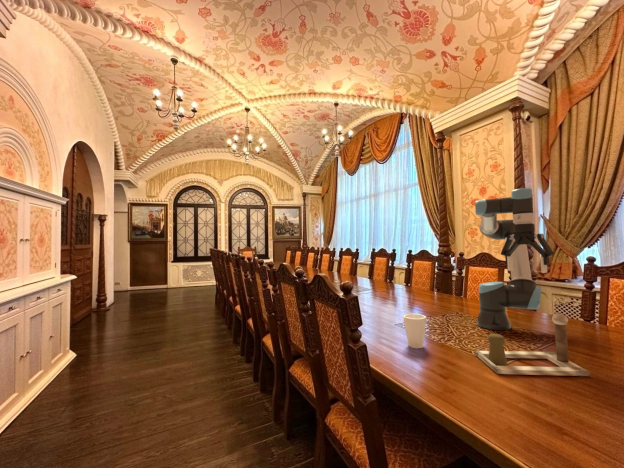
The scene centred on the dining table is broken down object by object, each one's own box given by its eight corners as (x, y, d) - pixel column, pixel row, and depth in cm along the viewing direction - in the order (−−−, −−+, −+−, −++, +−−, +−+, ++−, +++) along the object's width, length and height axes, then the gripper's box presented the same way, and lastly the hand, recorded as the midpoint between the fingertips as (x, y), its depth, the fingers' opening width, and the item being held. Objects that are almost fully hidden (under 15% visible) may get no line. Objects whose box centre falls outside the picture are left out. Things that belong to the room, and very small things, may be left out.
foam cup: (427, 343, 128) (426, 314, 128) (426, 350, 119) (425, 319, 120) (405, 341, 132) (404, 313, 132) (403, 348, 123) (402, 318, 124)
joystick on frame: (552, 355, 109) (549, 308, 110) (589, 376, 92) (585, 319, 93) (475, 354, 113) (472, 308, 114) (497, 373, 96) (494, 319, 97)
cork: (484, 361, 107) (482, 332, 107) (499, 360, 107) (498, 331, 107) (495, 368, 101) (493, 337, 101) (511, 367, 101) (509, 336, 101)
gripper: (490, 225, 134) (493, 270, 133) (551, 220, 111) (555, 274, 110) (500, 225, 137) (503, 269, 136) (562, 220, 114) (566, 273, 113)
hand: (526, 271), depth 123 cm, fingers open, 13 cm apart
